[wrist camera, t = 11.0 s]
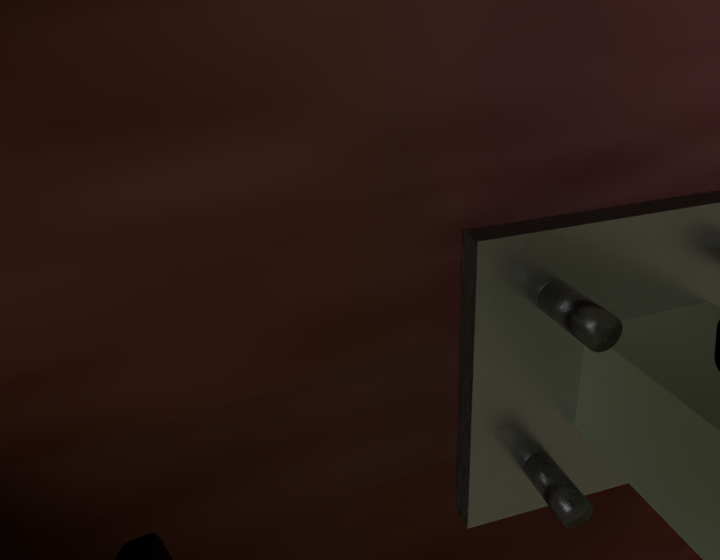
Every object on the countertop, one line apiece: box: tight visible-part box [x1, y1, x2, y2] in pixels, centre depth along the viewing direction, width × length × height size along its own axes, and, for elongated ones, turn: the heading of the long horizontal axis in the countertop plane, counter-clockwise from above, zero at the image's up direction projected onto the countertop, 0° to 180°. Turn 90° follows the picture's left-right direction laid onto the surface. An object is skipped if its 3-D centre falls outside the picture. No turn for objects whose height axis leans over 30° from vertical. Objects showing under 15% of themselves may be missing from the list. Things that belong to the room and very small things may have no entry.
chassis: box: [457, 191, 720, 529], centre depth 24 cm, size 16×14×4 cm
